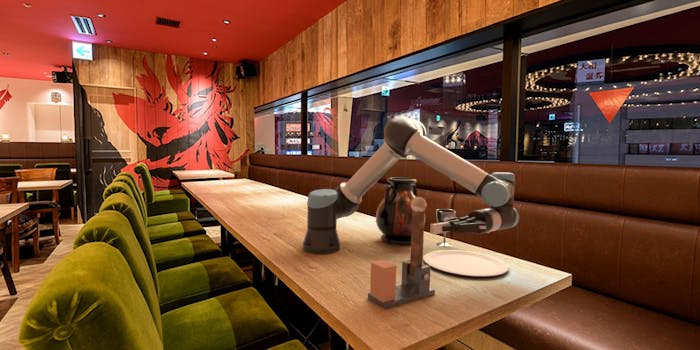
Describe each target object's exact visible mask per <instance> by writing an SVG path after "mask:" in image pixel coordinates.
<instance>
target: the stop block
mask: <svg viewBox="0 0 700 350" xmlns="http://www.w3.org/2000/svg"><path fill="white" fill-rule="evenodd" d="M370 263H371V264H370V287H369V288H370V290H369V291H370V292H369V293H370V295H372V296H373V297H375V298H377V299H378V300H380V301H382V302H387V301H390V300H394V299H395V289H396V286H397V285H396V283H397V265H395V264H394V263H391V262H389V261H387V260H384V259H381V260H375V261H371V262H370Z"/></svg>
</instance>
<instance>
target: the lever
mask: <svg viewBox="0 0 700 350" xmlns="http://www.w3.org/2000/svg"><path fill="white" fill-rule="evenodd" d="M427 206H428V205H427V201H426V200H425V198H423V197H420V196H417V197H416V198H414V199H413V200H412V201H411V208H412V231H411V245H410V259H409V260H410V276H412V277H414V278H415V267H416V266H421V265H423V261H424V260H423V258H424V254H423V253H424V237H425V236H424V232H425V225H424V214H426V213H425V210H426V209H427Z"/></svg>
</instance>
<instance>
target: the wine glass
mask: <svg viewBox="0 0 700 350" xmlns="http://www.w3.org/2000/svg"><path fill="white" fill-rule="evenodd" d="M435 216H436V222H437V223H441V220H444V219H447V218H451V217H452V216H455V217H456V210H455V209H450V208H437V209H436V211H435ZM442 234H443V241H441V242H440V241H439V242H436V243H435V246H438V247H442V248H451V247H453V246H454V245H453V244H452V243H449V242H446V236H447V233H446V232H445V233H442Z"/></svg>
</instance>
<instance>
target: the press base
mask: <svg viewBox="0 0 700 350" xmlns="http://www.w3.org/2000/svg"><path fill="white" fill-rule="evenodd" d="M401 263H402V264H401V283H400V284H398V285H396V289H395V299H394V300H390V301H387V302H382V301H380V300H378V299H377V298H375V297H373V296H372V295H370V292H369V293H367V300H369V301H371V302H372V303H374V304H375V305H377V306H379V307H381V308H382V309H384V310H389V309H392V308H394V307H395V308H396V307H399V306H402V305H406V304H408V303H413V302H415V301H419V300H422V299H426V298H429V297H432V296H435V294H436V289H435V288H432V287H430V284H431V283H430V282H431V268H432V267H431V266H429V265H428V264H422V265H421V266H416V267H415V278H414V277H412V276H410V259H409V260H404V261H403V260H402V261H401Z"/></svg>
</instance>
